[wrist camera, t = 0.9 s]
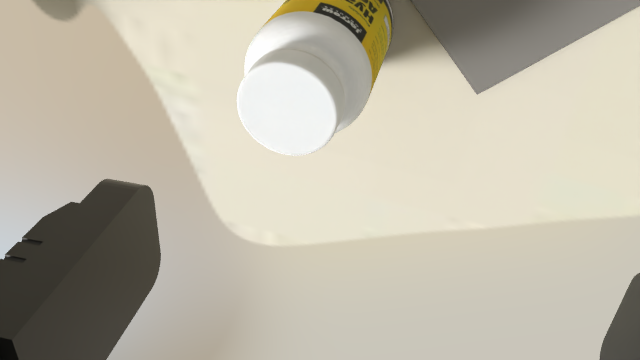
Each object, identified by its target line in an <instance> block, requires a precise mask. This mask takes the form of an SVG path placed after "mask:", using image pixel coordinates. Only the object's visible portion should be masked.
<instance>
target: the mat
mask: <svg viewBox="0 0 640 360" xmlns="http://www.w3.org/2000/svg"><path fill="white" fill-rule="evenodd" d="M411 1H412V3H413V4H414V5H415V7H416V8H417V10H418V11H419V13H420V14H421V15H422V17H423V18H424V20H425V21H426V23H427V24H428V25H429V27H430V28H431V30H432V31H433V33H434V34H435V35H436V37H437V38H438V40H439V41H440V43H441V44H442V45H443V47H444V48H445V50H446V51H447V52H448V54H449V55H450V57H451V58H452V60H453V61H454V62H455V64H456V65H457V67H458V68H459V70H460V71H461V72H462V74H463V75H464V77H465V78H466V80H467V81H468V82H469V84H470V85H471V87H472V88H473V90H474V91H475V92H476V94H479V93H481V92H483V91H485V90H486V89H488V88H490V87H492V86H494V85H496V84H497V83H499V82H501V81H503V80H505V79H507V78H508V77H510V76H512V75H514V74H516V73H518V72H519V71H521V70H523V69H525V68H527V67H529V66H530V65H532V64H534V63H536V62H538V61H540V60H541V59H543V58H545V57H547V56H549V55H550V54H552V53H554V52H556V51H558V50H560V49H561V48H563V47H565V46H567V45H569V44H571V43H572V42H574V41H576V40H578V39H580V38H582V37H583V36H585V35H587V34H589V33H591V32H593V31H594V30H596V29H598V28H600V27H602V26H603V25H605V24H607V23H609V22H611V21H613V20H614V19H616V18H618V17H620V16H622V15H624V14H625V13H627V12H629V11H631V10H633V9H635V8H636V7H638V6H640V0H411Z"/></svg>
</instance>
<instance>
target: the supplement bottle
mask: <svg viewBox="0 0 640 360" xmlns="http://www.w3.org/2000/svg"><path fill="white" fill-rule="evenodd" d="M392 34H393V14H392V10H391V7H390V4H389V2H388V0H286V1H285V2H284V3H283V5H282V6H281V7H280V8H279V9H278V10H277V11H276V12H275V13H274V15H273V16H272V17H271V18H270V19H269V20H268V21H267V22H266V23H265V24H264V26H263V27H262V28H261V29H260V30H259V31H258V33H257V34H256V36H255V37H254V38H253V40H252V42H251V44H250V45H249V48H248V51H247V54H246V58H245V67H244V71H245V77H244V78H243V80H242V82H241V84H240V86H239V89H238V93H237V109H238V113H239V116H240V119H241V121H242V123H243V125H244V126H245V128H246V129H247V131H248V132H249V134H250V135H251V136H252V137H253V138H254V139H255V140H257V141H258V142H259V143H260V144H262V145H263V146H265V147H267V148H268V149H270V150H273V151H275V152H278V153H281V154H285V155H305V154H309V153H312V152H315V151H317V150H319V149H320V148H322V147H323V146H325V145H326V144H327V143H328V142H329V141H330V139H331V138H332V137H333V135H334V133H336V132H338V131H340V130H342V129H344V128H346V127H347V126H348V125H350V124H351V123H352V122H353V121H354V120H355V119H356V118H357V117H358V116H359V114H360V113H361V112H362V110H363V108H364V106H365V104H366V103H367V101H368V98H369V96H370V93H371V90H372V88H373V85H374V82H375V80H376V78H377V75H378V73H379V70H380V68H381V65H382V62H383V60H384V57H385V55H386V53H387V50H388V48H389V46H390V42H391V39H392Z"/></svg>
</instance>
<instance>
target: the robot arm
mask: <svg viewBox="0 0 640 360" xmlns="http://www.w3.org/2000/svg"><path fill="white" fill-rule="evenodd" d="M160 258H161V253H160V245H159V236H158V228H157V219H156V212H155V203H154V196H153V192H152V190H151V188H150V187H148V186H146V185H140V184H134V183H129V182H123V181H117V180H111V179H105V180H103V181H101V182H100V183H99V184H98V185H97V186H96V187H95V188H94V189H93V190H92V191H91V192H90V193H89V194H88V195H87V196H86V197H85V198H84V200H82V202H81V203H75V202H70V203H69V204H67V205H65V206H63V207H61V208H59V209H57V210H56V211H54V212H52V213H50V214H48V215H46V216H44V217H43V218H42V219H41V220H40V221H39V222H38V223H37V224H36V225H35V226H34V227H33V228H32V229H31V230H30V231H29V232H28V233H26V235H24V236H23V237H22V242H17V243H16V245H14V246H13V247H12V248H11V249H10V250H9V251H8V252H7V253H6V254H5V258H4V260H3V259H0V360H106V359H107V358H108V356H109V354H110V353H111V351H112V350H113V348H114V346H115V345H116V344H117V342H118V340H119V339H120V337H121V336H122V334H123V333H124V331H125V329H126V328H127V326H128V325H129V323H130V322H131V320H132V319H133V317H134V316H135V314H136V312H137V311H138V309H139V308H140V306H141V305H142V303H143V301H144V300H145V298H146V297H147V295H148V294H149V292H150V291H151V289H152V287H153V285H154V283H155V281H156V278H157V275H158V272H159V267H160V260H161V259H160ZM600 360H640V273H639V274H637V275H636V276H635V277H634V278H633V279H632V281H631V283H630V285H629V287H628V289H627V291H626V293H625V296H624V298H623V300H622V302H621V304H620V306H619V308H618V310H617V313H616V315H615V317H614V319H613V321H612V323H611V325H610V327H609V329H608V331H607V334H606V336H605V338H604V341H603V344H602V347H601V353H600Z"/></svg>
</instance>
